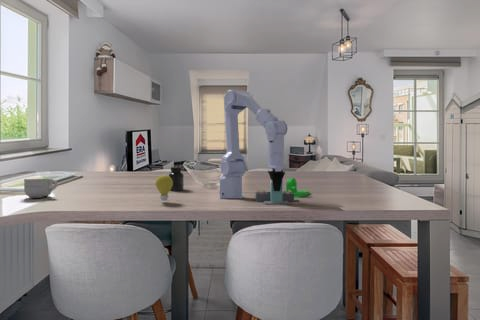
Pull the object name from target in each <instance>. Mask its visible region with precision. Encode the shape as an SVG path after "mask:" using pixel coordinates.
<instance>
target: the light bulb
mask: <svg viewBox="0 0 480 320" xmlns="http://www.w3.org/2000/svg"><path fill="white" fill-rule="evenodd" d="M172 185H173V181H172V179H171V177H169V175H168V174H162V175H161V174H160V175H159V176H158V177H157V178H156V180H155V186H156V188H157V191H158V192H159V193H160V195H159V198H161V199H160V200H161V202H162V201H163V202H166V201H168V198H169V192H171V191H170V189H171V187H172Z"/></svg>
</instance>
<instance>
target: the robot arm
mask: <svg viewBox="0 0 480 320" xmlns="http://www.w3.org/2000/svg"><path fill="white" fill-rule="evenodd" d="M223 106H224V108H223V109H224V123H225V124H224V127H225V129H224V131H225V146H226V153H225V154H224V155H223V156H222V157H221V163H220V166H219V167H220V173H221V174H222V176H220V177H219V190H218V193H219V199H244V195H243V177H244V174H245V173H246V172H247V164H246V162H245V156H244V155H243V154H242V153H240V137H239V135H240V132H239V114H241V112H243V111H244V110H245V109H247V110H249V111H250V112H252V113H253V114H254V115H255V119H256V121H257V122H258V123H259V124H260V125H261V126H262V127H263V128H264V131H265V134H266V138H267V141H268V165H267V168H268V169H269V168H271V170H267V173H268V175H269V178H270V180H272V182H273V188H274V191H280V189H281V184H282V185H283V183H282V180H283V179H284V176H285V174H286V171H284V170H282V169H283V168H288V165H287V164H285V136H286V135H287V132H288V124H287V123H286V122H285V120H279V118H278V117H277V116H274V114H273V113H272V112H271V109H270V108H262V107H261V106H260V104H259V103H258V102H257V101H256V100H255V99H254V95H252V94H251V93H250V92H249V91H242V90H234V89H228V90H227V91H226V93H225V94H224V95H223Z"/></svg>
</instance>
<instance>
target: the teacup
mask: <svg viewBox="0 0 480 320" xmlns="http://www.w3.org/2000/svg"><path fill="white" fill-rule="evenodd" d="M23 181H24V183H23V189H24V190H23V192H24V194H25V196H28V198H43V197H42V196H48V197H49V196H50V195H51V194H52V192H53V191H54V190H56V189H57V187H58V181H57V180H56V179H54V178H37V179H36V178H29V179H28V178H26V179H23Z"/></svg>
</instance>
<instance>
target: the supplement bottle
mask: <svg viewBox="0 0 480 320" xmlns="http://www.w3.org/2000/svg"><path fill="white" fill-rule="evenodd" d="M182 171H183V170H182V167H181V166H175V167H174V166H171V167H170V173H169V174H168V176H169V177H171V179H172V181H173V185H172V187H171V189H170V191H169V192H182V191H184V184H185V181H184V179H185V178H184V177H185V176H184V174H183V172H182Z"/></svg>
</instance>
